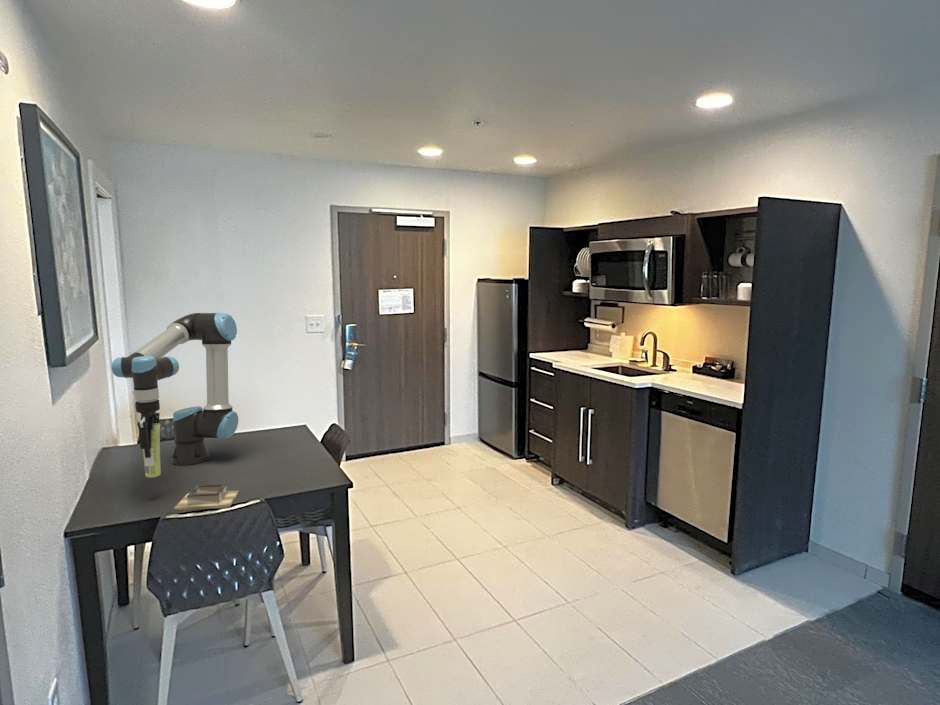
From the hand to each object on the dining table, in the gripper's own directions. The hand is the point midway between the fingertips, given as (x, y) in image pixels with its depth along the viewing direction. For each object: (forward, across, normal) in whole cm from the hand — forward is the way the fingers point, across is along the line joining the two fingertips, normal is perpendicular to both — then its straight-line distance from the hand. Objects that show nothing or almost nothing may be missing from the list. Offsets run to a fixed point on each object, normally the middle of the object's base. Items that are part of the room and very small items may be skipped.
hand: (152, 462), depth 209 cm
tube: (+5, 0, 0) cm, 5 cm away
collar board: (+13, +6, +20) cm, 25 cm away
